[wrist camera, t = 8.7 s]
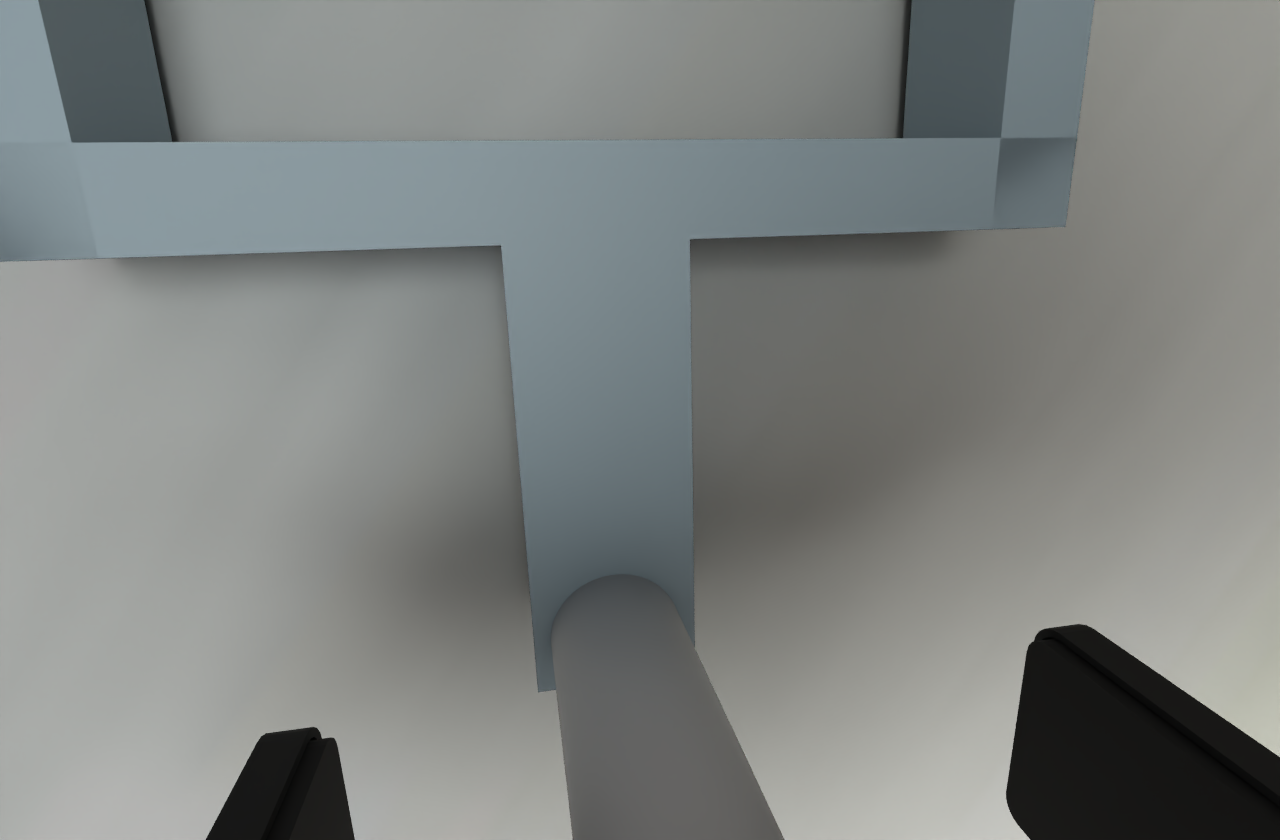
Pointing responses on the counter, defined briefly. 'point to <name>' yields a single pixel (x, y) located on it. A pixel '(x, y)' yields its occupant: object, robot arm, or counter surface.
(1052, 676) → the robot arm
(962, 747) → the counter surface
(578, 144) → the sliding frame
